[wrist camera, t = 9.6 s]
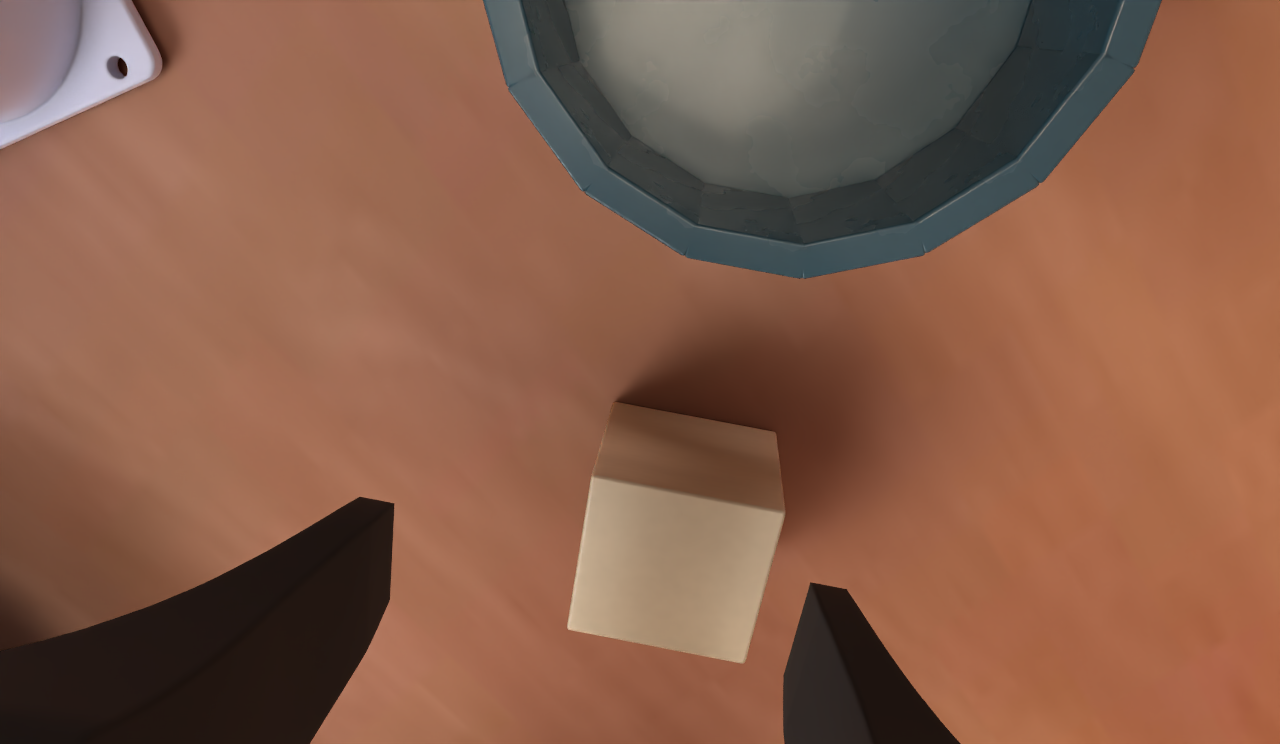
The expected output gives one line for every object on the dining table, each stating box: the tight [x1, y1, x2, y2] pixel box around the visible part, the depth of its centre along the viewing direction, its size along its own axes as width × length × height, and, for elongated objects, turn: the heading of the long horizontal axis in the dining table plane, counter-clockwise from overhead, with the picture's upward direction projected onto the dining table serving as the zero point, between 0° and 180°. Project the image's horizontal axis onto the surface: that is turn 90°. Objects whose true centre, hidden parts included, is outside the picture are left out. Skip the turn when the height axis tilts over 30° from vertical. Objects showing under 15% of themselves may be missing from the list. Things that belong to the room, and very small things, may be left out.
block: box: [567, 402, 786, 663], centre depth 22 cm, size 5×5×4 cm
